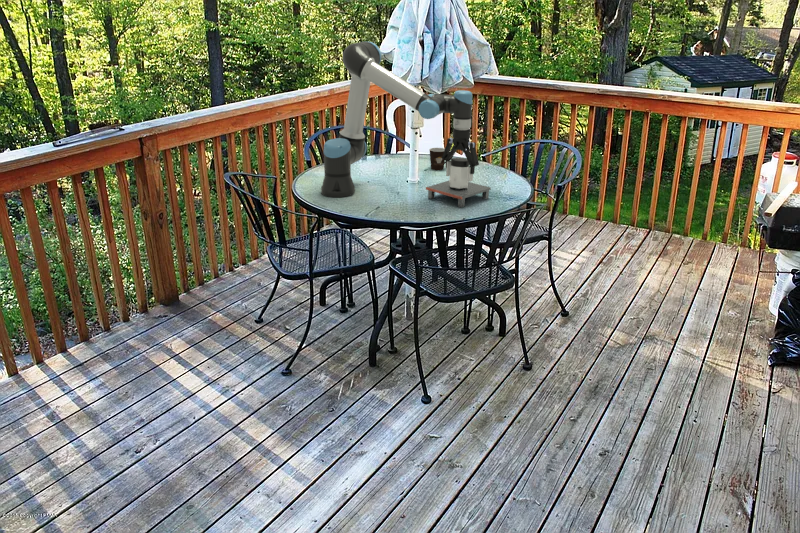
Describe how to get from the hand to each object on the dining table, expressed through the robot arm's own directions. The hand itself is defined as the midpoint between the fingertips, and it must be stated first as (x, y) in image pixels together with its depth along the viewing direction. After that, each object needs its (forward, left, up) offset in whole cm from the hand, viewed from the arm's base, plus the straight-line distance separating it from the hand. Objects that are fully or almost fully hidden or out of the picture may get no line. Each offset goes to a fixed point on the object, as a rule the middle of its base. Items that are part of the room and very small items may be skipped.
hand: (459, 178), depth 289 cm
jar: (0, 0, -4) cm, 4 cm away
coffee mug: (-38, +32, -9) cm, 51 cm away
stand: (0, 0, -9) cm, 9 cm away
